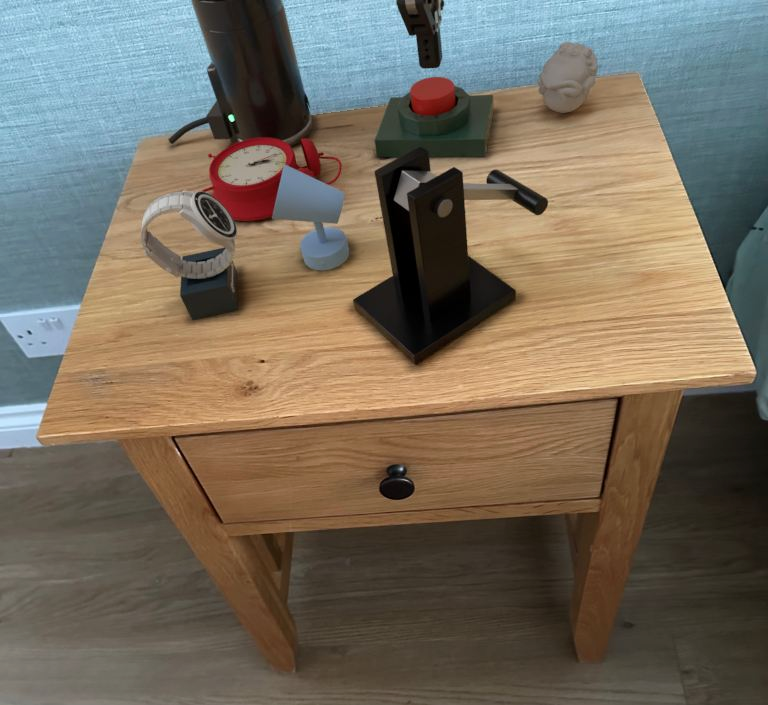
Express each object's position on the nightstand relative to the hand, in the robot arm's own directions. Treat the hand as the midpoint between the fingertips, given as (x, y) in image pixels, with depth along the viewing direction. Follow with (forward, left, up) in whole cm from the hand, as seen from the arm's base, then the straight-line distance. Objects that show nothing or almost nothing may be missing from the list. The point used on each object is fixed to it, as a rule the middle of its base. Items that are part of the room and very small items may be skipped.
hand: (431, 64), depth 73 cm
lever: (+7, -24, 0) cm, 25 cm away
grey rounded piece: (+14, +5, -9) cm, 17 cm away
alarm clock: (-16, -11, -9) cm, 21 cm away
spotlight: (-8, -21, -9) cm, 24 cm away
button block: (0, 0, -8) cm, 8 cm away
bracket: (+4, -27, -8) cm, 28 cm away
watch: (-17, -27, -9) cm, 33 cm away
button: (0, 0, -5) cm, 5 cm away
